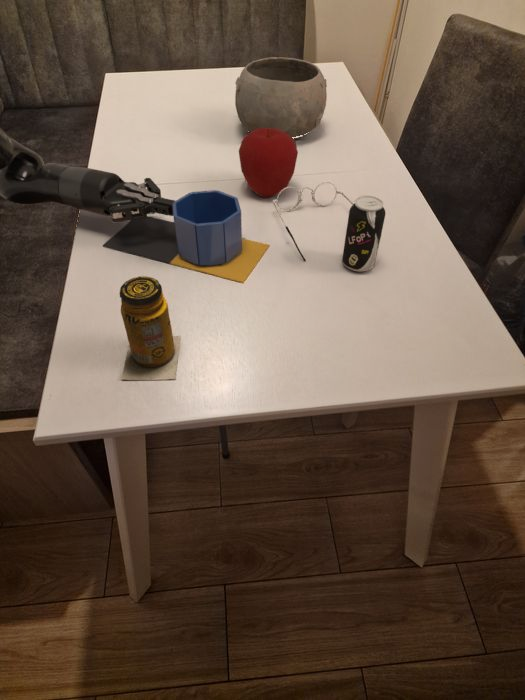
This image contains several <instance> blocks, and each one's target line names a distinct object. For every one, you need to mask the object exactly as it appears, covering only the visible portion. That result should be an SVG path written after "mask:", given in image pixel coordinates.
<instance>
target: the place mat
mask: <svg viewBox="0 0 525 700" xmlns="http://www.w3.org/2000/svg"><path fill="white" fill-rule="evenodd" d="M102 247H103V248H106V249H110V250H114V251H118V252H122V253H126V254H130V255H134V256H138V257H141V258H145V259H149V260H153V261H156V262H160V263H163V264H169V265H172V266H176V267H180V268H183V269H187V270H191V271H195V272H198V273H199V272H200V273H202V274H207V275H209V276H210V275H211V276H213V277H217V278H221V279H226V280H229V281H233V282H237V283H241V284H244V283H245V282H246V281H247V279H248V277H249V276H250V274H251V273H252V272H253V270H254V269H255V267H256V266H257V265H258V264H259V262H260V261H261V260H262V258H263V256H264V255H265V253H266V252H267V251H268V249H269V248H270V247H271V245H270V244H268V243H264V242H258V241H255V240H251V239H247V238H243V237H242V251H241V252H240V253H239V254H237V256H236V257H235V258H234V259H232V260H231V261H229V262H227V263H225V264H222V265H217V266H199V265H195V264H192V263H190V262H188V261H186V260H185V259H184V258H181V257H180V256H179V253H178V246H177V238H176V231H175V224H174V221H170V220H165V219H162V218H157V217H153V216H150V215H149V216H148V215H147V217H146V218H144V219H137V220H130V221H128V222H127V223H126V224H125V225H124V226H123V227H121V229H120V230H118V231H117V232H116V233H115V234H113V236H111V237H110V238H109V239H108V240H107V241H106V242H104V243H103V244H102Z"/></svg>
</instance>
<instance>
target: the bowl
mask: <svg viewBox="0 0 525 700" xmlns="http://www.w3.org/2000/svg"><path fill="white" fill-rule="evenodd" d="M234 83H235V95H234V101H235V102H234V105H235V111H236V113H237V117H238V120H239V122H240V124H241V126H243V128H244V129H245V130H246V131H247V132H248V131H249V132H251V131H253V130H255V129H260V128H274V129H278V130H281V131H283V132H285V133H287V134H288V135H289V136H290V137H296V136H300V135H304V134H306V133H308V132H310V131H311V132H313V130H315V129H316V128H317V127H318V126H319V125H320V123H321V120H322V119H323V116H324V114H325V110H326V108H327V107H326V106H327V100H328V99H327V98H328V97H327V95H328V93H327V87H328V85H327V79H326V78H325V76H324V75H323V72H322V71H321V69H320V68H319V66H318V65H317V64H314V63H312V62H311V61H308V60H304V59H299V58H293V57H284V56H278V57H277V56H271V57H264V58H260V59H257V60H253V61H251V62H249V63H248V64H247V65H245V66H244V67H243V69H242V70H241V72H240V75H239V76H238V77H237V78H236V80H235V82H234ZM249 132H248V133H249ZM311 132H310V133H311ZM308 134H309V133H308ZM298 139H301V138H300V137H299V138H294V139H293V140H294V141H295V140H298Z"/></svg>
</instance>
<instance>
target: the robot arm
mask: <svg viewBox="0 0 525 700" xmlns="http://www.w3.org/2000/svg"><path fill="white" fill-rule="evenodd" d="M143 179H144V180H143V181H144V182H143V183H136V182H134V181H130V182H128V181H125V180H123V179H122V178H121V177H120V176H119V175H118V174H117V173H114V172H109V171H104V170H100V169H95V168H90V167H86V166H85V167H84V166H73V165H68V164H63V163H57V162H47V163H45V161H44V159H43V157H42V156H41V155H40V153H38V152H37V151H35V150H33V149H31V148H30V147H27V146H25V145H24V144H21V143H20V142H19V141H17V140H15V139H14V138H13V137H11V136H9V135H8V134H7V132H5V131H4V130H3V128H2V127H0V196H1V197H2V198H3V199H5V200H7V201H9V202H11V203H14V204H19V205H34V204H35V205H36V204H43V203H44V204H45V203H57V204H61V205H64V206H65V205H66V206H69V207H72V208H75V209H77V210H81V211H86V212H89V213H93V214H99V215H104V216H108V217H111V221H112V223H115V224H116V223H122V222H130V221H131V220H137V219H144V218H146V217H147V216H148V215H154V214H161V215H164V216H170V217H173V204H172V203H173V202H175V201H176V200H174V199H169V198H164V197H162V192H161V191H162V190H161V188H159V186H158V185H157V184H156V183H155V182H154V181H153V180H152V178H151V177H146V178H143Z"/></svg>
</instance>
